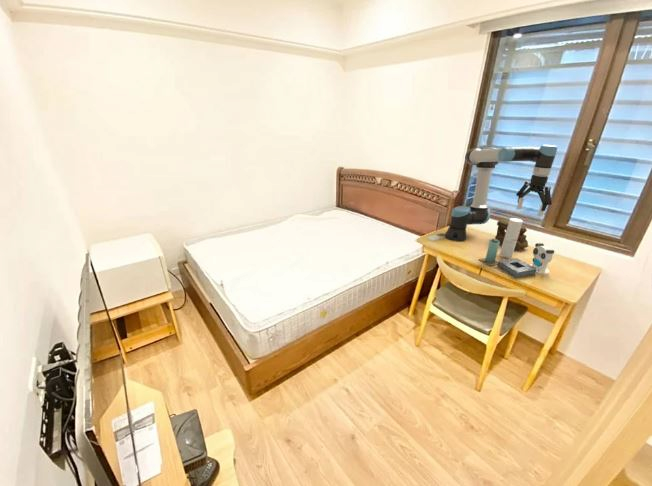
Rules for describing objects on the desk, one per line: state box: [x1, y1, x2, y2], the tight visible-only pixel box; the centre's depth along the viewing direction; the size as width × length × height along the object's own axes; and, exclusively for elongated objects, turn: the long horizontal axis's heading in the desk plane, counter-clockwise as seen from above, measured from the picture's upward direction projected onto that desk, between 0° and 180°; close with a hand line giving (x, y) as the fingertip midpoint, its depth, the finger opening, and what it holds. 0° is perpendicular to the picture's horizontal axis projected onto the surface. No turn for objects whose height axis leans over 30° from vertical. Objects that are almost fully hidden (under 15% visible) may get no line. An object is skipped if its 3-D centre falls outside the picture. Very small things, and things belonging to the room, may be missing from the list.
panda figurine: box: [528, 242, 555, 275], centre depth 175 cm, size 12×11×15 cm
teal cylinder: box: [485, 238, 500, 263], centre depth 183 cm, size 5×5×15 cm
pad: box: [478, 257, 498, 267], centre depth 186 cm, size 9×9×1 cm
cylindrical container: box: [499, 217, 523, 259], centre depth 190 cm, size 7×7×25 cm
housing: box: [496, 257, 537, 279], centre depth 176 cm, size 14×14×4 cm
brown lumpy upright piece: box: [494, 218, 529, 252], centre depth 205 cm, size 20×11×17 cm, turn 33°
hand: (528, 212), depth 168 cm, fingers open, 13 cm apart
